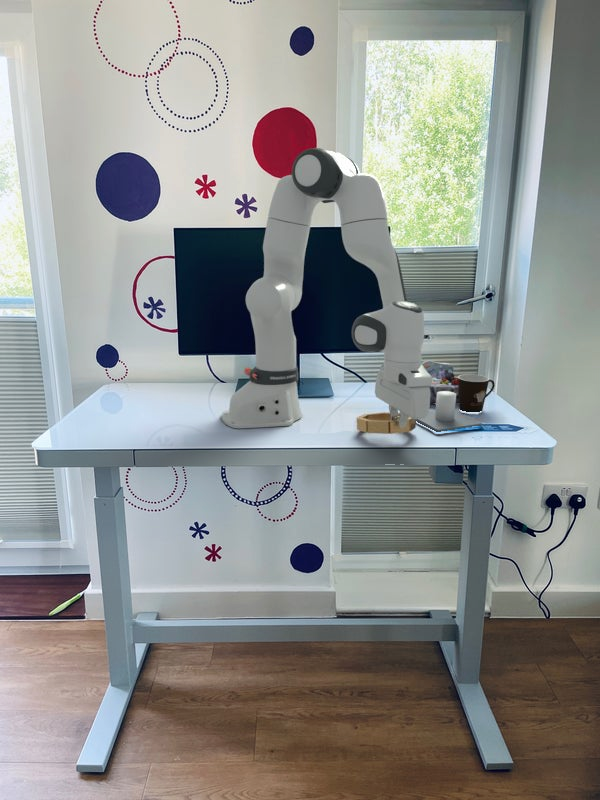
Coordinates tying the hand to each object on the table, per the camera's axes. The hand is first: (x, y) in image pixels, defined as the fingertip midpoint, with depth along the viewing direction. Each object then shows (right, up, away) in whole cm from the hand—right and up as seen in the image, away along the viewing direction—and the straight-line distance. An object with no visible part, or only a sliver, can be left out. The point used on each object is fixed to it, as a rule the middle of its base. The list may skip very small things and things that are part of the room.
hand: (398, 425), depth 144 cm
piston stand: (+15, 0, +14) cm, 21 cm away
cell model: (+19, +6, +38) cm, 43 cm away
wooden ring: (-2, -1, +6) cm, 6 cm away
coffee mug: (+27, +3, +25) cm, 37 cm away
